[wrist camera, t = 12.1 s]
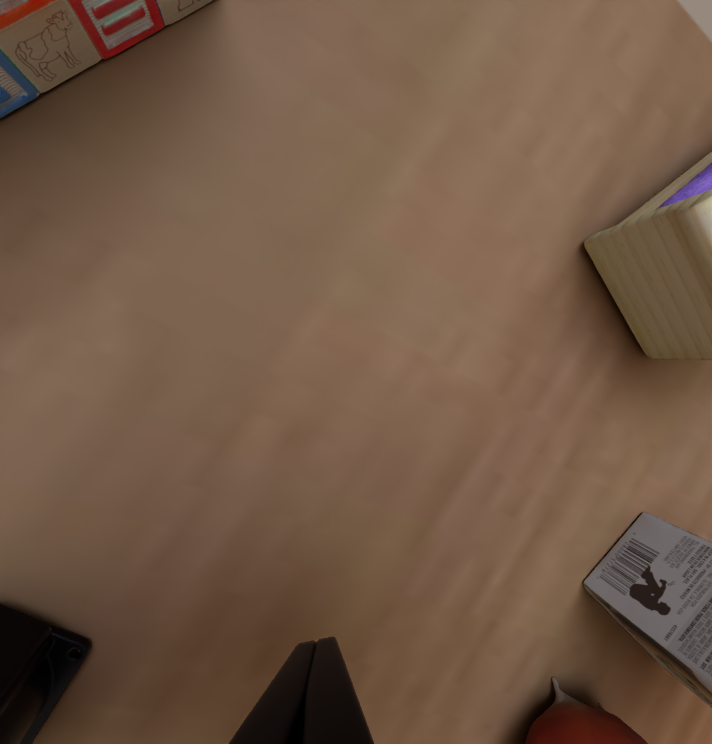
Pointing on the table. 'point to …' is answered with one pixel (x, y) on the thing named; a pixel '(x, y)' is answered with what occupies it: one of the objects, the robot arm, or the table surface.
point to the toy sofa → (664, 267)
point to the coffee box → (662, 597)
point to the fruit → (579, 724)
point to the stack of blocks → (71, 39)
